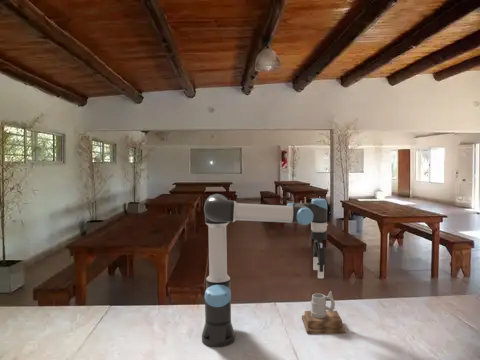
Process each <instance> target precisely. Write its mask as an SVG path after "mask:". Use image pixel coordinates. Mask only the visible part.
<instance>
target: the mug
mask: <svg viewBox="0 0 480 360" xmlns="http://www.w3.org/2000/svg"><path fill="white" fill-rule="evenodd" d="M332 293H333V292H332V291H331V290H330V291H329V292H328V295H325V294H322V293H313V294H312V295H311V302H310V304H311V310H310V311H311V316H312V317H315V318H325V317H326V314H327V311H326V310H328V311H330V312H331V313H332V312H333V310H334V309H335V306H336V302H335V299H334V297H333V296H334V295H333V294H332ZM326 300H329V301H330V306H327V301H326Z"/></svg>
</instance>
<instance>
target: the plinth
mask: <svg viewBox="0 0 480 360" xmlns="http://www.w3.org/2000/svg"><path fill="white" fill-rule="evenodd" d="M301 320H302V323H303V327H304V329H305V332H306V334H307V335H312V334H313V335H321V334H323V335H326V334H327V335H328V334H330V335H333V334H334V335H335V334H337V335H338V334H340V335H341V334H342V335H343V334H344V335H345V334H347V332H346V331H347V330H346V328H345V327H344V324H343V319H342V318H341V315H340V314H339V312H338V311H337V310H335V311H333V312H332V313H331V312H330V311H327V314H326V317H325V318H315V317H312V316H311V310H305V311H304V314H302V315H301Z"/></svg>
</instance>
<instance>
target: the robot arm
mask: <svg viewBox="0 0 480 360" xmlns="http://www.w3.org/2000/svg"><path fill="white" fill-rule="evenodd" d="M203 213H204V223H205V224H206V226H207V227H208V264H209V265H208V272H209V273H208V276H207V277H206V279H205V280H206V283H205V284H206V286H205V287H206V289H205V291H204V303H205V304H204V311H205V312H204V313H205V314H204V315H205V316H204V318H205V323H204V326H203V329H202V333H201V341H202V343H203V344H204V345H206V346H210V347H217V348H218V347H219V348H220V347H225V346H229V345H231V344H232V343H234V342H235V340H236V332H235V330H234V327H233V324H232V305H231V304H232V300H231V299H232V292H231V291H232V290H231V277H230V276H229V274H228V260H227V259H228V253H227V248H228V247H227V244H228V243H227V242H228V241H227V226H228V225H229V224H230V223H235V222H236V221H246V222H248V221H249V222H268V223H269V222H271V223H273V222H274V223H289V224H291V223H292V224H299V225H302V226H306V225H307V226H308V225H310V230H311V231H310V238H311V239H312V240H313V250H312V255H313V264H312V265H313V267H312V268H313V271H317V279H324V278H325V265H326V259H325V243H324V242H323V241H324V240H325V241H326V240H327V238H328V232H327V231H328V230H327V229H328V226H329V224H328V201H327V199H325V198H320V197H319V198H312V199H311V202H304V203H303V202H302V203H301V202H290V203H289V202H288V203H287V204H286V205H279V204H277V205H276V204H275V205H274V204H261V203H240V202H239V203H238V202H236V201H235V200H229V198H227V197H226V196H225V195H224V194H220V193H214V194H211V195H209V196H208V197H207V198H206V200H205V202H204V206H203Z"/></svg>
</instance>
